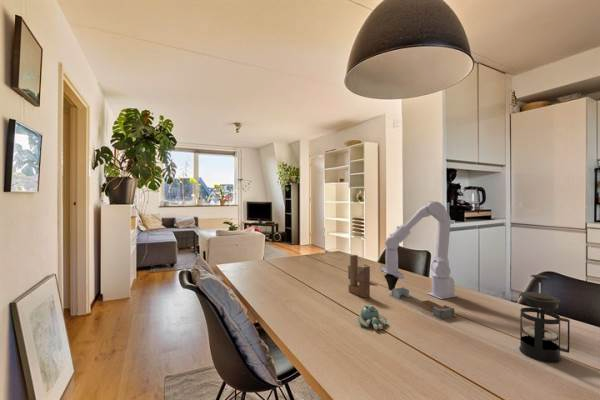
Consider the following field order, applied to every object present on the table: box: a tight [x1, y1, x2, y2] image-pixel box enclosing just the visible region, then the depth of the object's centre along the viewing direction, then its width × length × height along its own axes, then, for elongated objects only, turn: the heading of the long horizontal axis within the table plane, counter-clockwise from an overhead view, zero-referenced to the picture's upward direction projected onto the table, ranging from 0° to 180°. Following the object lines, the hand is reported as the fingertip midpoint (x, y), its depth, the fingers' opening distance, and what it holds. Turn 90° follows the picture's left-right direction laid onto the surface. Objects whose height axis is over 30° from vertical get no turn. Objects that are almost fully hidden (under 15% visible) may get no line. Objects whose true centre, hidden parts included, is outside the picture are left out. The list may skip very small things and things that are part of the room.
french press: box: [518, 274, 571, 364], centre depth 84 cm, size 12×9×23 cm
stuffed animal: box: [357, 304, 388, 331], centre depth 105 cm, size 11×7×12 cm
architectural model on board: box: [347, 263, 369, 282], centre depth 162 cm, size 11×3×10 cm, turn 48°
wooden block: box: [348, 254, 371, 299], centre depth 137 cm, size 4×11×18 cm, turn 33°
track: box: [388, 294, 457, 321], centre depth 123 cm, size 9×29×1 cm, turn 21°
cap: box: [391, 286, 410, 299], centre depth 134 cm, size 6×4×3 cm, turn 111°
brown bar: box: [422, 299, 447, 313], centre depth 117 cm, size 3×10×3 cm, turn 19°
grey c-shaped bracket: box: [432, 304, 455, 321], centre depth 112 cm, size 6×4×3 cm, turn 111°
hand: (391, 290), depth 140 cm, fingers closed
